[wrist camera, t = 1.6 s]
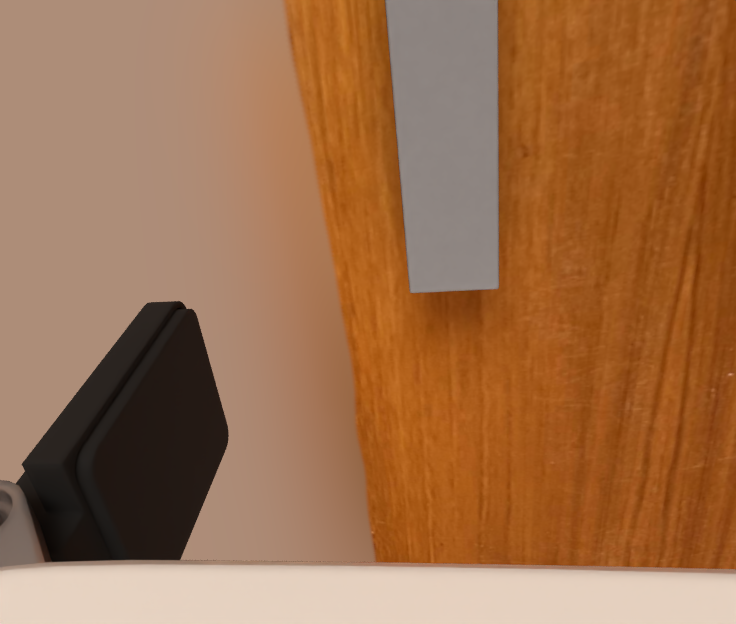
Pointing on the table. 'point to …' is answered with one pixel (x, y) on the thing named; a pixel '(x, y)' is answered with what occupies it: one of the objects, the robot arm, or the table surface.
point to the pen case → (447, 139)
